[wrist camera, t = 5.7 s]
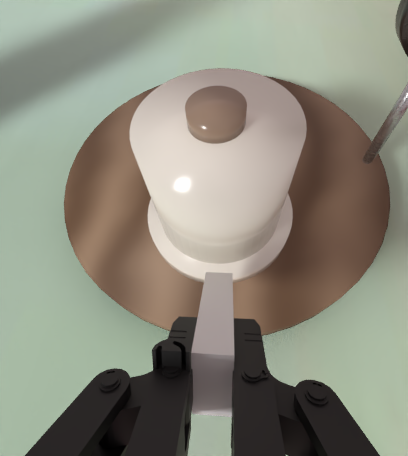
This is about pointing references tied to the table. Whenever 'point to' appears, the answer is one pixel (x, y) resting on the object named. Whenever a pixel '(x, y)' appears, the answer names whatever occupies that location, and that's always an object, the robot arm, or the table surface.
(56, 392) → the table surface
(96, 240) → the turntable
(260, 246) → the canister
